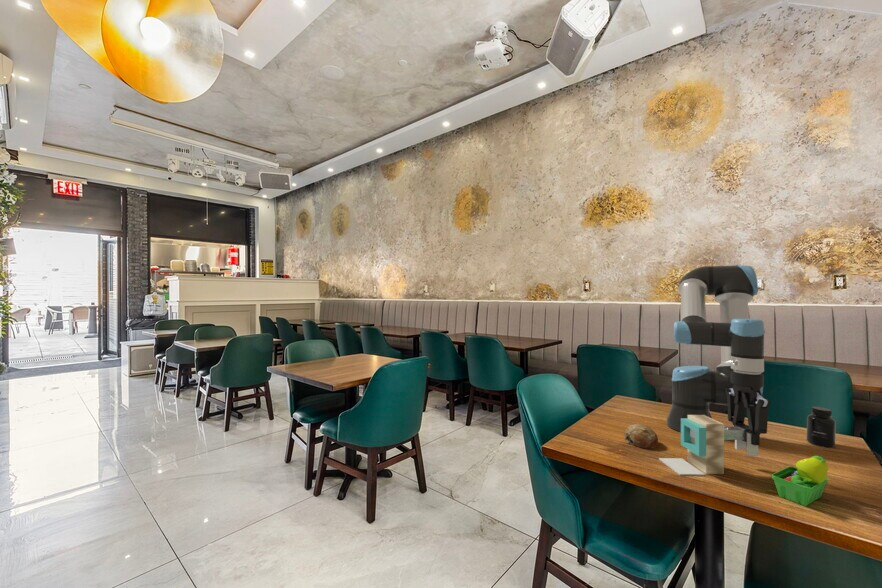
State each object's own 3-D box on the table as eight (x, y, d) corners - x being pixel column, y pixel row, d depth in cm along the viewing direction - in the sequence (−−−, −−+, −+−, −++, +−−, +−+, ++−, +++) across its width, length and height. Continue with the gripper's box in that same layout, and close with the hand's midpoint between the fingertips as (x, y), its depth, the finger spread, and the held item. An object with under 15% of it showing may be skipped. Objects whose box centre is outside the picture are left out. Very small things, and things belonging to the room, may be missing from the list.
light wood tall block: (706, 473, 104) (706, 424, 104) (687, 461, 112) (687, 414, 112) (723, 474, 104) (724, 424, 104) (703, 461, 112) (704, 414, 112)
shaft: (697, 441, 107) (697, 429, 107) (688, 436, 110) (688, 424, 110) (757, 442, 106) (757, 429, 106) (747, 437, 110) (747, 425, 110)
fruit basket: (789, 484, 99) (790, 442, 99) (836, 500, 91) (837, 454, 91) (769, 495, 93) (770, 450, 93) (818, 513, 86) (818, 464, 86)
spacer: (680, 444, 112) (680, 418, 112) (687, 444, 112) (687, 418, 112) (699, 456, 104) (699, 427, 104) (706, 456, 104) (706, 427, 104)
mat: (658, 459, 113) (658, 458, 113) (681, 459, 113) (681, 458, 113) (679, 475, 103) (679, 473, 103) (705, 475, 103) (705, 474, 103)
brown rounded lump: (622, 449, 130) (614, 429, 129) (641, 432, 133) (634, 413, 132) (647, 460, 121) (639, 440, 119) (667, 443, 124) (660, 422, 123)
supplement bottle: (815, 446, 124) (815, 410, 124) (801, 439, 130) (801, 404, 130) (841, 449, 122) (841, 412, 122) (826, 441, 128) (826, 406, 128)
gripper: (713, 366, 117) (712, 440, 117) (757, 378, 100) (757, 465, 100) (737, 366, 117) (736, 440, 117) (786, 378, 100) (785, 465, 100)
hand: (746, 451), depth 108 cm, fingers closed on shaft, 4 cm apart
